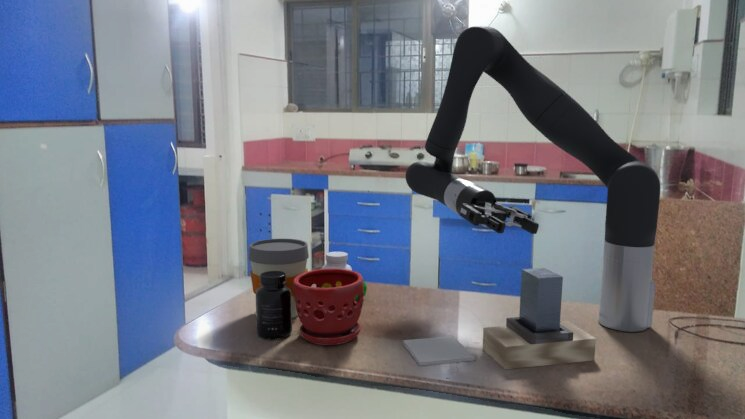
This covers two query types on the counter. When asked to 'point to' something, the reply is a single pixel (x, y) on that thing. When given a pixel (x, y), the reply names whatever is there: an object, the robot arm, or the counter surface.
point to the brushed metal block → (540, 300)
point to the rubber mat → (438, 350)
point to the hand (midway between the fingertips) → (520, 229)
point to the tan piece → (537, 345)
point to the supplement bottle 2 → (336, 264)
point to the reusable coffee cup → (278, 261)
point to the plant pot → (329, 305)
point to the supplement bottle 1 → (273, 306)
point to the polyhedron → (364, 290)
